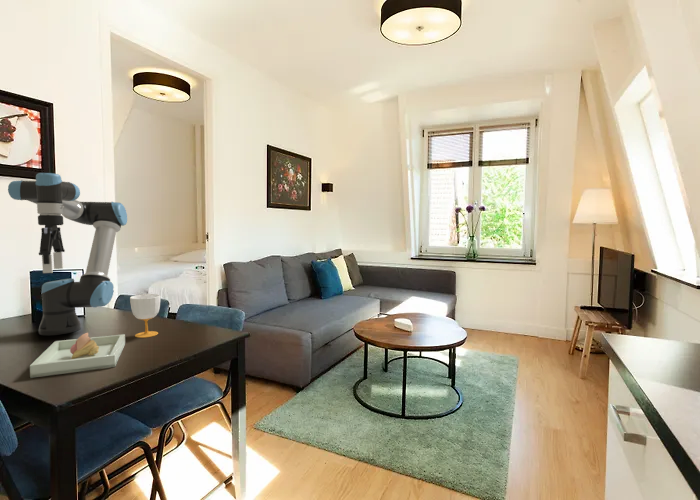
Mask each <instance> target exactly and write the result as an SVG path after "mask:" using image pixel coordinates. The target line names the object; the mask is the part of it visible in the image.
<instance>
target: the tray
mask: <svg viewBox="0 0 700 500" xmlns="http://www.w3.org/2000/svg"><path fill="white" fill-rule="evenodd" d="M77 339H78V338H74V339H66V340H65V339H64V340H55V341H54V342H53V343H52V344H50V346H48V347H47V349H46V350H44V351H43V352H42V353H41V354H40V355H39V356H38V357H37V358H36V359H35V360H34V361H33V362H32V363H31V364H30V365H29V377H30V379H33V378H39V377H48V376H55V375H57V376H58V375H62V374H64V375H65V374H71V373H77V372H78V373H80V372H89V371H94V370H101V369H110V368H116V366H117V364H118V361H119V359H120V357H121V355H122V352H123V350H124V347H125V346H126V334H124V333H122V334H114V335H101V336H93V337H92V336H91V337H90V339H91V340H90V341H92V340H94V342H96V344H97V346H98V347H99V349H98V351H99V352H98V353H97V354H93V355H89V354H87V355H83V356H80V357H78V358H75V359H72V355H73V354H72V353H71V352H70V349H71V347H72V346H73V344H75V343H76V341H77Z"/></svg>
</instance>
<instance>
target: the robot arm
mask: <svg viewBox="0 0 700 500" xmlns="http://www.w3.org/2000/svg"><path fill="white" fill-rule="evenodd" d="M7 191H8V192H7V193H8V194H9V196H10V198H12V199H13V200H16V201H27V202H31V203H33V204H36V208H37V209H36V210H37V215H38V216H37V224H38V225H39V226H44V227H41V228H40V230H41V233H40V234H41V235H40V236H41V237H40V244H39V245H40V246H39V252H38V255H39V256H41V261H42V263H41V264H42V274H53V271H54V270H59V269H60V270H62V269H64V265H63V264H64V263H63V261H64V260H63V253H65V252H66V250H65V248H64V244H63V238H62V233H61V227H58V226H63V225H64V218H65V219H67V220H69V221H73V222H75V223H79V224H82V225H88V226H93V228H94V229H95V231H94V234H93V240H92V244H91V247H90V253H89V258H88V261H87V265H86V269H85V270H86V271H85V273H84V274H82V275H81V276H80V279H79V281H75V279H74V278H63V279H59V280H58V279H57V280H52V281H47V282H44V283H43V284H42V285H41V301H42V302H41V303H42V317H41V321H40V324H39V327H38V334H39V335H40V336H59V335H65V334H71V333H74V332H77V331H79V330H81V328H82V325H81V324H82V323H81V320H80V319H79V317H78V315H77V312H76V309H77V308H101V307H105V306H107V305H108V304H109V303H110V302H111V300H112V298H113V296H114V293H115V292H114V291H115V290H114V288H115V287H114V284H113V283H112V282H111V278H109V276H108V274H109V269H110V266H111V265H110V264H111V260H112V259H111V258H112V255H113V250H114V245H115V241H116V240H115V238H116V234H117V233H118V232H120V231H121V229H122V226H125V225H127V223H128V214H127V210H126V207H125V205H123V203H121V202H115V201H109V202H108V201H78V200H77V199H79V197H80V196H81V191H80V188H79V186H78V185H76V184H74V183H72V182H70V181H63V180H62V176H61V174H59V173H53V172H38V173H36V175H35V180H22V179H21V180H13V181H11V182H10V183H9V184H8V189H7ZM52 249H53V252H52ZM52 254H53V255H52Z"/></svg>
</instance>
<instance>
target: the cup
mask: <svg viewBox="0 0 700 500" xmlns="http://www.w3.org/2000/svg"><path fill="white" fill-rule="evenodd" d="M129 301H130V302H129V303H130V309H131V312H132V315H133V316H134V317H135V318H136V319H138V320H140V321H144V326H145V327H144V331H142V332H139V333H136V334H135V335H134V337H135V338H140V339H141V338H143V339H144V338H145V339H146V338H152V337H155V336H157V335H158V334H159V332H158V331H155V330H154V331H153V330H151V331H150V330H149V326H148V325H149V324H148V321H149V320H151V319H153V318H155V317H156V316H157V315H158V314H159V312H160V308H161V295H160V294H157V293H144V294H136V295H132V296H130V297H129Z"/></svg>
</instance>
